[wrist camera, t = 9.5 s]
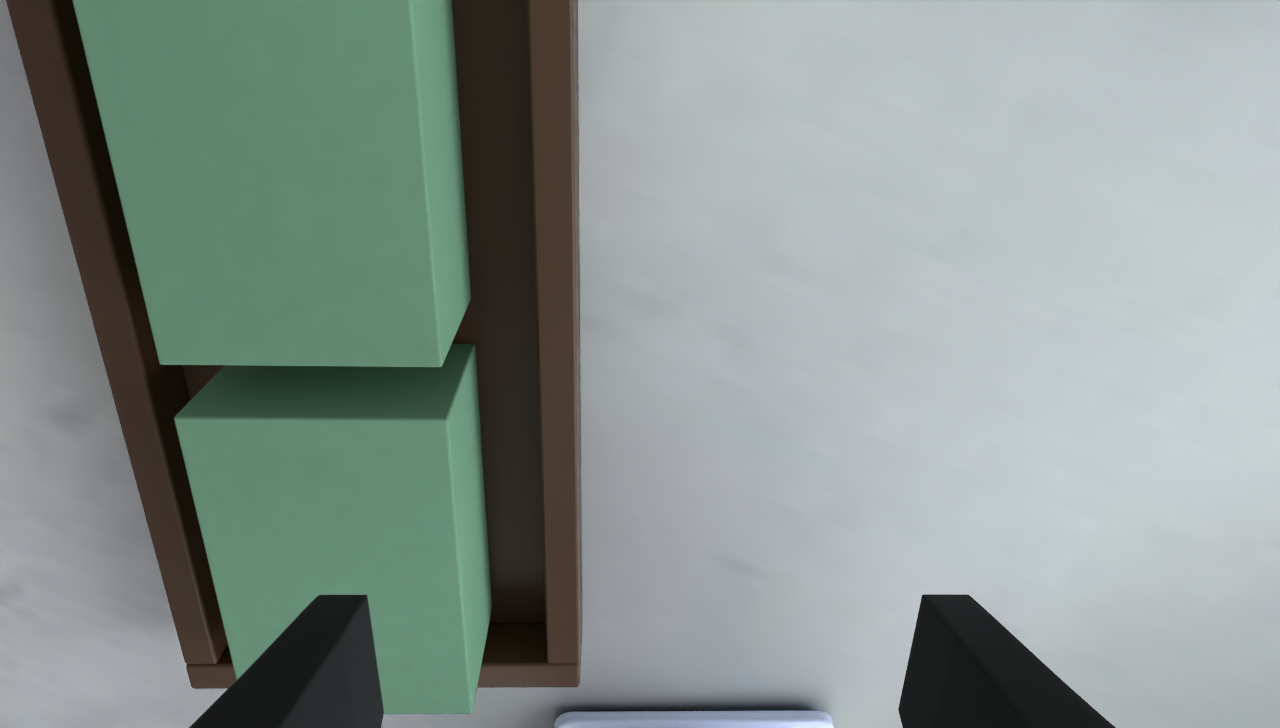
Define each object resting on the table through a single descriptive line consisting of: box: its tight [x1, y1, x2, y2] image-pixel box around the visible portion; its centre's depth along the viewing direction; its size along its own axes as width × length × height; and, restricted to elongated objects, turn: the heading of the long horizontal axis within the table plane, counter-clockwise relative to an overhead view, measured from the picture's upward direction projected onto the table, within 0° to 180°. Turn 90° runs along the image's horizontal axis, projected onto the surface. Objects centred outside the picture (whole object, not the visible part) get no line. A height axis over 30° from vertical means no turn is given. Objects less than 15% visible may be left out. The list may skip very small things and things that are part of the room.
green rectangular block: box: [72, 0, 471, 367], centre depth 15 cm, size 8×5×4 cm, turn 179°
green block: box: [174, 344, 492, 714], centre depth 19 cm, size 8×5×4 cm, turn 179°
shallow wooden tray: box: [6, 0, 582, 689], centre depth 18 cm, size 19×10×2 cm, turn 179°
